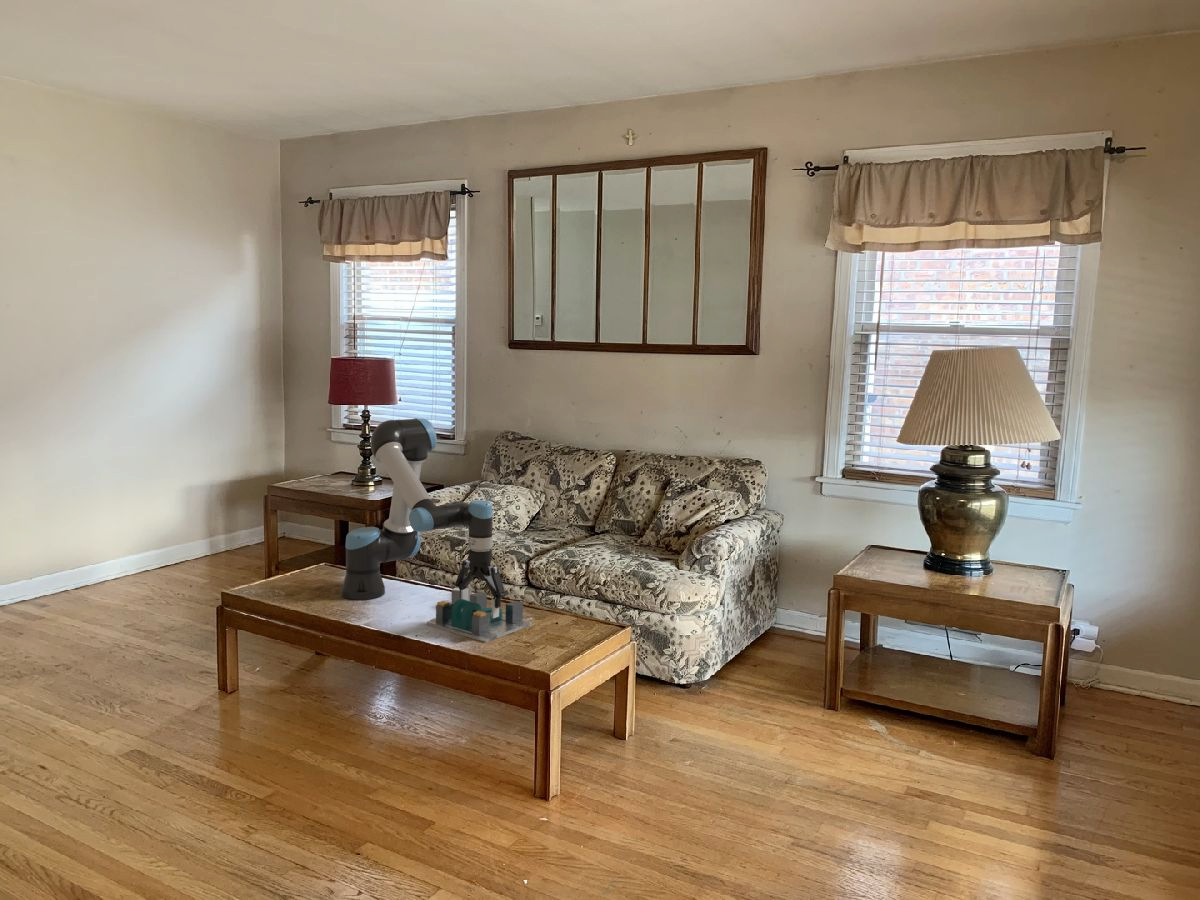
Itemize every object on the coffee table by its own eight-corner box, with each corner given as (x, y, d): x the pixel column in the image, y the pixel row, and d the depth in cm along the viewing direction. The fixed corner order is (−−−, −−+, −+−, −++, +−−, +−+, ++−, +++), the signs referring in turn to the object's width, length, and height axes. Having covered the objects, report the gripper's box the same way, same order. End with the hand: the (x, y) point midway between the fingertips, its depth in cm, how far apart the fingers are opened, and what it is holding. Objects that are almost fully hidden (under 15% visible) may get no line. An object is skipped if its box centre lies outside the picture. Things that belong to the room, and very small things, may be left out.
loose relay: (451, 606, 315) (451, 589, 314) (458, 602, 320) (458, 585, 319) (464, 608, 313) (464, 591, 312) (471, 604, 318) (471, 587, 317)
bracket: (465, 630, 287) (466, 605, 286) (451, 625, 292) (451, 601, 291) (506, 617, 301) (506, 594, 300) (492, 612, 305) (492, 589, 304)
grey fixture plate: (426, 624, 295) (426, 601, 294) (474, 609, 313) (474, 586, 312) (485, 642, 280) (485, 617, 279) (532, 624, 298) (532, 601, 297)
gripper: (444, 544, 297) (444, 608, 300) (501, 557, 283) (500, 623, 286) (460, 540, 303) (460, 602, 306) (517, 553, 289) (516, 618, 292)
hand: (479, 613), depth 296 cm, fingers open, 13 cm apart
